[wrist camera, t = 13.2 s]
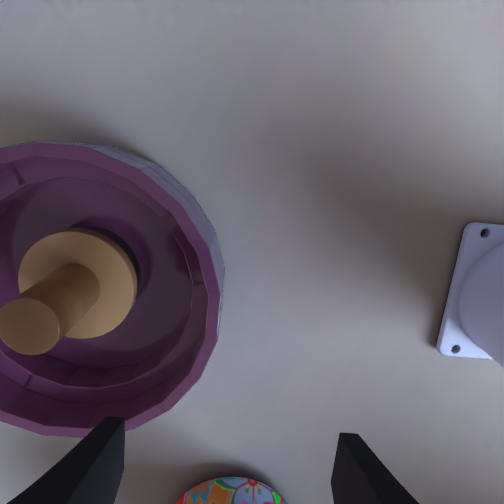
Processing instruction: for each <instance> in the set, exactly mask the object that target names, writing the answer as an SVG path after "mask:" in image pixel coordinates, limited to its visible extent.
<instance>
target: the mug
mask: <svg viewBox="0 0 504 504" xmlns="http://www.w3.org/2000/svg"><path fill="white" fill-rule="evenodd" d="M176 504H288V503H287V502H286V501H285V500H284V498H283V497H282V496H281V495H280V494H278V493H277V492H276V491H275V490H273V489H272V488H271V487H269V486H267V485H265V484H263V483H261V482H258V481H256V480H252V479H248V478H243V477H221V478H216V479H211V480H208V481H205V482H203V483H201V484H198V485H197V486H195V487H193V488H192V489H190V490H189V491H187V492H186V493H185V494H184V495H183V496H182V497H181V498H180V499H179V500H178V501H177V502H176Z"/></svg>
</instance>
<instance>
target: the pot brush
mask: <svg viewBox="0 0 504 504" xmlns="http://www.w3.org/2000/svg"><path fill="white" fill-rule="evenodd" d="M140 279H141V273H140V266H139V263H138V260H137V258H136V255H135V254H134V252H133V250H132V249H131V248H130V246H129V245H128V244H127V243H126V242H125V241H124V240H123V239H121V238H120V237H119V236H117V235H116V234H114V233H112V232H110V231H108V230H105V229H102V228H98V227H90V226H85V227H78V228H71V229H64V230H60V231H57V232H54V233H52V234H50V235H48V236H46V237H44V238H42V239H40V240H39V241H37V242H36V243H35V244H34V245H33V246H32V247H31V248H30V249H29V250H28V251H27V253H26V254H25V256H24V258H23V260H22V262H21V265H20V268H19V274H18V285H19V291H20V294H19V295H18V296H16V297H15V298H13V299H12V300H10V301H9V302H7V303H6V304H5V305H4V306H3V307H2V308H1V309H0V337H1V339H2V340H3V342H4V343H5V344H6V345H7V346H9V347H10V348H11V349H13V350H15V351H16V352H19V353H22V354H26V355H38V354H42V353H45V352H47V351H49V350H51V349H52V348H53V347H54V346H55V345H56V344H57V343H58V342H59V341H60V340H61V339H62V338H63V337H64V336H66V337H70V338H78V339H85V338H93V337H98V336H101V335H104V334H106V333H108V332H110V331H111V330H113V329H114V328H116V327H117V326H118V325H119V324H120V323H121V322H122V321H123V320H124V319H125V317H126V316H127V314H128V313H129V311H130V310H131V308H132V306H133V304H134V302H135V299H136V295H137V292H138V289H139V286H140Z"/></svg>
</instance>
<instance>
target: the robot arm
mask: <svg viewBox="0 0 504 504" xmlns="http://www.w3.org/2000/svg"><path fill="white" fill-rule="evenodd" d="M483 229H485V230H486V233H485V234H484V235H483V236H481V235H480V233H481V231H482V230H483ZM454 345H457V347H456V348H455V349H454V350H451V348H452V347H453V346H454ZM436 348H437V350H438V351H439V352H440V353H441V354H442V355H445V356H456V357H468V358H481V359H493V360H495V361H496V362H498V363H499V364H500V365H501V366H502V367H504V225H499V224H488V223H478V222H472V223H470V224H468V225H467V226H466V227H465V229H464V232H463V236H462V240H461V245H460V249H459V253H458V257H457V261H456V265H455V270H454V274H453V278H452V282H451V286H450V290H449V295H448V299H447V303H446V307H445V311H444V315H443V320H442V324H441V328H440V332H439V336H438V341H437V345H436ZM124 442H125V417H113V416H106V417H105V418H103V419H102V420H101V421H100V422H99V423H98V424H97V425H96V426H95V427H94V428H93V429H92V430H91V431H90V432H89V433H88V434H87V435H86V436H85V437H84V438H83V439H82V440H81V441H80V442H79V443H78V444H77V445H76V446H75V447H74V448H73V449H72V450H71V451H70V452H69V453H68V454H66V455H65V456H64V457H63V458H62V459H61V460H60V461H59V462H58V463H57V464H56V465H54V466H53V467H52V468H51V469H50V470H49V471H47V472H46V473H45V474H44V475H43V476H41V477H40V478H39V479H38V480H37V481H36V482H34V483H33V484H32V485H31V486H29V487H28V488H27V489H26V490H24V491H23V492H22V493H20V494H19V495H18V496H16V497H15V498H14V499H12V500H11V501H10V502H8V503H7V504H114V501H115V498H116V494H117V491H118V488H119V484H120V481H121V477H122V474H123V470H124ZM331 486H332V493H333V499H334V504H419V503H418V502H417V501H416V500H415V499H414V498H413V497H412V496H411V495H410V494H409V493H408V491H407V490H406V489H405V488H404V487H403V486H402V485H401V484H400V483H399V482H398V481H397V480H396V478H395V477H394V476H393V475H392V474H391V473H390V472H389V470H388V469H387V468H386V467H385V466H384V465H383V463H382V462H381V461H380V460H379V459H378V458H377V456H376V455H375V454H374V453H373V452H372V450H371V449H370V448H369V447H368V446H367V444H366V443H365V442H364V441H363V439H362V438H361V437H360V436H359V435H358V434H354V433H340V435H339V440H338V446H337V451H336V456H335V462H334V467H333V473H332V478H331Z"/></svg>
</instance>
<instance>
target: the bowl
mask: <svg viewBox="0 0 504 504" xmlns="http://www.w3.org/2000/svg"><path fill="white" fill-rule="evenodd" d="M85 226H90V227H98V228H102V229H105V230H108V231H110V232H112V233H114V234H116V235H117V236H119V237H120V238H121V239H123V240H124V241H125V242H126V243H127V244H128V245H129V246H130V248H131V249H132V250H133V252H134V254H135V255H136V258H137V260H138V263H139V266H140V273H141V279H140V286H139V289H138V292H137V295H136V299H135V302H134V304H133V306H132V308H131V310H130V311H129V313H128V314H127V316H126V317H125V319H124V320H123V321H122V322H121V323H120V324H119V325H118V326H117V327H116V328H114V329H113V330H111V331H110V332H108V333H106V334H104V335H101V336H98V337H93V338H85V339H78V338H70V337H66V336H64V337H63V338H62V339H61V340H60V341H59V342H58V343H57V344H56V345H55V346H54V347H53V348H52V349H51V350H49V351H47V352H45V353H42V354H38V355H26V354H22V353H19V352H16V351H15V350H13V349H11V348H10V347H9V346H7V345H6V344H5V343H4V342H3V340H2V339H1V337H0V421H2V422H5V423H8V424H11V425H14V426H17V427H20V428H23V429H26V430H29V431H32V432H35V433H38V434H41V435H48V436H62V437H77V438H84V437H85V436H86V435H87V434H88V433H89V432H90V431H91V430H92V429H93V428H94V427H95V426H96V425H97V424H98V423H99V422H100V421H101V420H102V419H103V418H105V417H106V416H113V417H125V431H128V430H132V429H135V428H137V427H139V426H140V425H142V424H144V423H146V422H148V421H150V420H152V419H154V418H155V417H157V416H159V415H161V414H163V413H165V412H167V411H169V410H170V409H171V408H172V407H173V406H174V405H175V404H176V403H177V402H178V401H179V400H180V399H181V398H182V397H183V396H184V395H185V394H186V393H187V392H188V390H189V389H190V388H191V387H192V386H193V385H194V384H195V383H196V382H197V381H198V380H199V379H200V377H201V375H202V373H203V371H204V369H205V366H206V364H207V362H208V360H209V358H210V355H211V353H212V351H213V349H214V347H215V345H216V342H217V339H218V333H219V325H220V318H221V310H222V301H223V289H224V277H225V271H224V270H225V268H224V264H223V260H222V256H221V252H220V248H219V244H218V240H217V236H216V232H215V229H214V228H213V226H212V225H211V223H210V221H209V220H208V218H207V217H206V215H205V213H204V212H203V210H202V209H201V207H200V205H199V204H198V202H197V201H196V199H195V197H194V196H193V195H192V194H191V193H190V192H189V191H188V190H187V189H186V188H185V187H183V186H182V185H181V184H180V183H179V182H178V181H176V180H175V179H174V178H173V177H172V176H171V175H169V174H168V173H167V172H166V171H165V170H164V169H162V168H161V167H160V166H158V165H157V164H155V163H152V162H150V161H148V160H145V159H143V158H141V157H138V156H136V155H134V154H131V153H129V152H127V151H125V150H122V149H120V148H116V147H113V146H103V145H93V144H83V143H73V142H39V141H33V142H26V143H22V144H18V145H14V146H9V147H5V148H1V149H0V309H1V308H2V307H3V306H4V305H5V304H6V303H7V302H9V301H10V300H12V299H13V298H15V297H16V296H18V295H19V294H20V291H19V285H18V274H19V268H20V265H21V262H22V260H23V258H24V256H25V254H26V253H27V251H28V250H29V249H30V248H31V247H32V246H33V245H34V244H35V243H36V242H37V241H39V240H40V239H42V238H44V237H46V236H48V235H50V234H52V233H54V232H57V231H60V230H64V229H71V228H78V227H85Z"/></svg>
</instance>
